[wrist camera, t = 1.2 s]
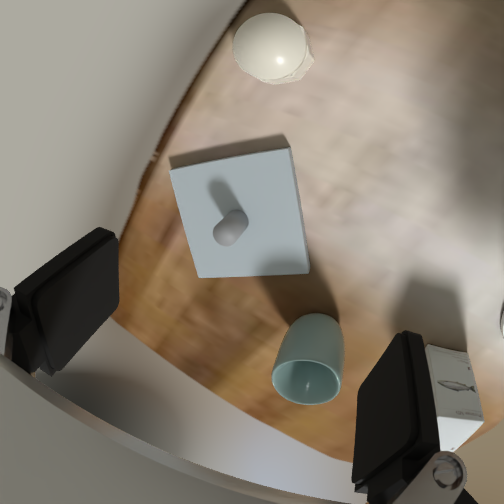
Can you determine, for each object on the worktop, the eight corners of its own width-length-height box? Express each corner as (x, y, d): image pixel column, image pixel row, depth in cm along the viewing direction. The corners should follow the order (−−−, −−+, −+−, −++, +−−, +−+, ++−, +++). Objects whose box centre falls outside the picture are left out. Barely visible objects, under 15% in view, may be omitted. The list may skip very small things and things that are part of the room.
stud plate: (290, 147, 32) (279, 154, 28) (310, 267, 38) (303, 292, 33) (175, 168, 37) (149, 179, 32) (203, 272, 43) (184, 294, 38)
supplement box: (469, 351, 36) (487, 421, 25) (444, 385, 40) (452, 454, 29) (427, 341, 37) (439, 416, 26) (403, 377, 41) (406, 449, 30)
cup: (282, 307, 41) (261, 360, 33) (342, 299, 38) (335, 355, 30) (296, 351, 44) (280, 406, 35) (351, 346, 41) (345, 403, 32)
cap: (305, 21, 26) (296, 6, 21) (318, 77, 28) (312, 72, 24) (245, 33, 28) (226, 23, 23) (257, 88, 31) (240, 86, 26)
